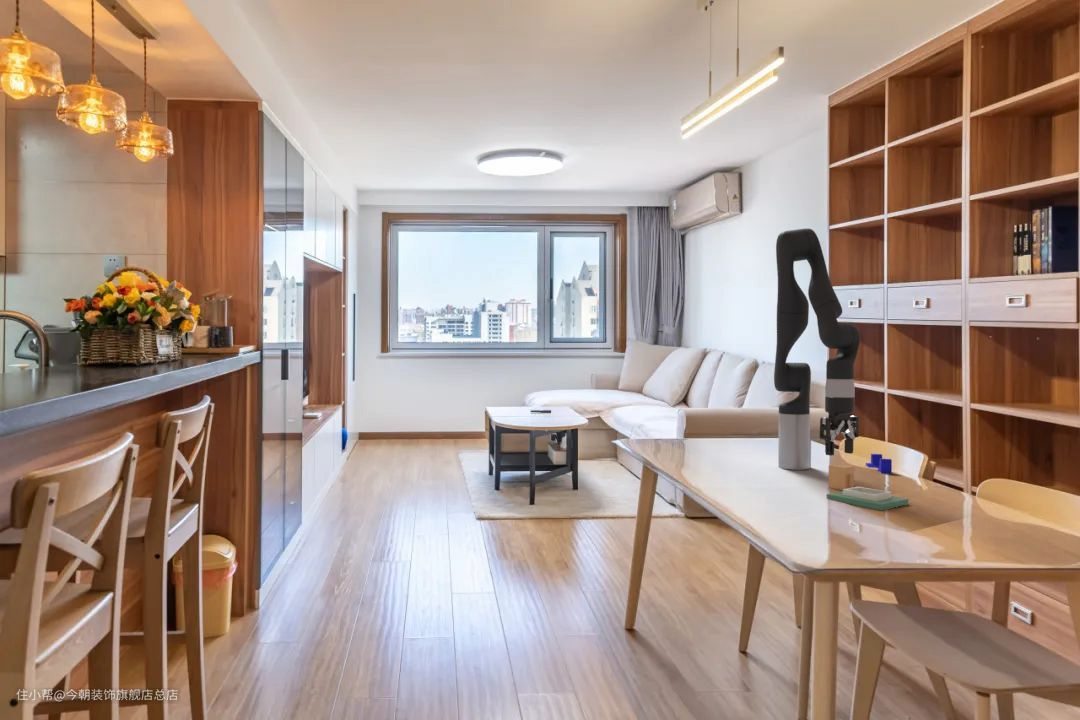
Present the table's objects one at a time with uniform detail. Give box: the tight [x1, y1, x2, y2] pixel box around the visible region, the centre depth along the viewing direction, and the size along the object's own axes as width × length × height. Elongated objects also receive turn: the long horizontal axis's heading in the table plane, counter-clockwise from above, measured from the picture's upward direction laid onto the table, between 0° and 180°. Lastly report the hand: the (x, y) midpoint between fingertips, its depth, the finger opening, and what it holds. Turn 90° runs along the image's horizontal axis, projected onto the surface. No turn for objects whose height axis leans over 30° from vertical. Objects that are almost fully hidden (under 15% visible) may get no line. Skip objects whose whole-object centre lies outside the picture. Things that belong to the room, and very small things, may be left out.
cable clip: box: [865, 453, 893, 474], centre depth 225 cm, size 12×4×6 cm, turn 169°
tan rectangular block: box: [828, 463, 855, 491], centre depth 198 cm, size 4×6×7 cm
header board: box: [826, 486, 909, 511], centre depth 183 cm, size 12×15×3 cm
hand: (839, 454), depth 198 cm, fingers open, 8 cm apart
